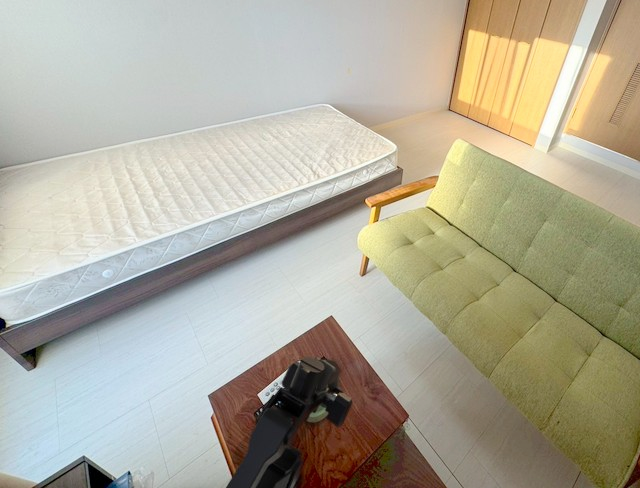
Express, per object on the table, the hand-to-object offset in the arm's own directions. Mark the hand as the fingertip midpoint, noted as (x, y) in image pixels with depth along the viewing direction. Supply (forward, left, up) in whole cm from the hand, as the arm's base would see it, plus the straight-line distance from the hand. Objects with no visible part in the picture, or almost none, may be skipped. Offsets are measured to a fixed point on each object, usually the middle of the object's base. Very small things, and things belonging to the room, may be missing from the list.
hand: (330, 381), depth 84 cm
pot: (-4, +2, -13) cm, 14 cm away
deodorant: (-1, 0, -7) cm, 7 cm away
